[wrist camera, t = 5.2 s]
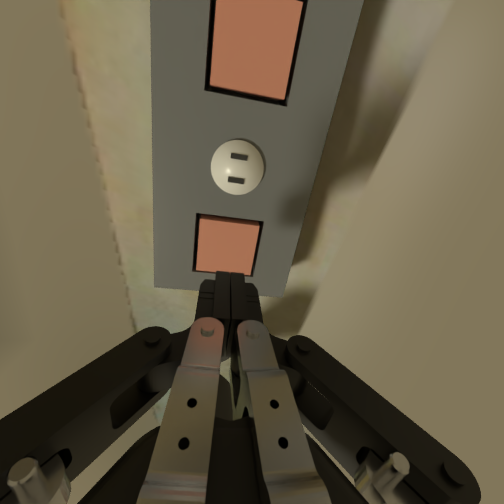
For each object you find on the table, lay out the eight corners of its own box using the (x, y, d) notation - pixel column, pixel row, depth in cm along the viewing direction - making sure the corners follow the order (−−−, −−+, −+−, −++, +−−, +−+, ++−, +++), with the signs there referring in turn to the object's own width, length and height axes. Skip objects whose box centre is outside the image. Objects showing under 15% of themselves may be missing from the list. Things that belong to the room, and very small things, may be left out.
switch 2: (203, 206, 19) (199, 218, 17) (256, 213, 20) (259, 226, 17) (199, 253, 21) (196, 270, 19) (247, 258, 21) (250, 275, 19)
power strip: (167, -199, 11) (143, -328, 8) (373, -125, 13) (423, -208, 10) (164, 263, 22) (153, 289, 19) (275, 273, 24) (283, 299, 21)
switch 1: (219, 1, 14) (217, -21, 11) (291, 19, 14) (302, 2, 12) (212, 88, 15) (209, 84, 13) (276, 101, 16) (284, 99, 14)
